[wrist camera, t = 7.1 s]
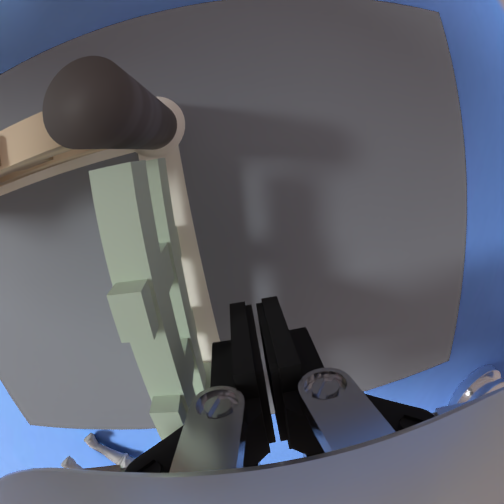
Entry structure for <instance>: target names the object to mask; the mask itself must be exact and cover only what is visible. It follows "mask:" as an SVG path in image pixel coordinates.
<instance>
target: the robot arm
mask: <svg viewBox="0 0 504 504" xmlns="http://www.w3.org/2000/svg"><path fill="white" fill-rule="evenodd" d="M261 301H262V303H256V308H257V314H258V320H259V326H260V333H261V339H262V345H263V351H264V358H265V364H266V370H267V375H268V380H269V385H270V390H271V395H272V400H273V405H274V410H275V415H276V420H277V425H278V430H279V435H280V440H281V441H284V440H288V445H289V449H294V450H297V451H299V452H301V453H303V457H304V458H299V459H294V460H289V461H283V462H278V463H272V464H265V465H260V461H261V460H262V459H263V458H264V457H265V456H266V455H267V454H268V453H270V447H269V443H273V442H276V441H275V435H274V429H273V423H272V417H271V412H270V406H269V400H268V394H267V388H266V382H265V376H264V371H263V365H262V359H261V354H260V349H259V343H258V338H257V332H256V326H255V321H254V315H253V310H252V304H251V305H245V301H244V302H238V303H231V304H229V306H230V331H231V340H227V341H220V342H213V343H212V359H211V383H210V388H208V389H205V390H203V391H201V392H200V393H198V394H197V395H196V396H195V397H194V398H193V400H192V402H191V404H190V407H189V410H188V413H187V416H186V419H185V423H184V425H183V426H181V427H180V428H179V429H177V430H176V431H175V432H173V433H172V434H170V435H169V436H168V437H166V438H165V439H163V440H162V441H161V442H159V443H158V444H156V445H155V446H153V447H152V448H151V449H149V450H148V451H146V452H145V453H143V454H142V455H140V456H139V457H137V458H136V459H134V460H133V461H132V462H131V463H130V464H129V465H128V467H125V468H123V467H122V466H121V465H112V466H105V467H96V468H86V469H69V468H33V469H27V470H21V471H16V472H13V473H10V474H7V475H5V476H3V477H2V478H0V504H504V387H502V388H500V389H497V390H495V391H492V392H490V393H487V394H485V395H483V396H481V397H479V398H477V399H474V400H470V401H466V402H462V403H458V404H454V405H450V406H445V407H441V408H436V410H435V413H430V412H429V411H427V410H424V409H421V408H417V407H413V406H409V405H405V404H401V403H397V402H393V401H389V400H385V399H381V398H378V397H374V396H371V395H367V394H364V392H363V391H362V390H361V389H360V388H359V386H358V385H357V384H356V383H355V381H354V380H353V379H352V378H351V377H350V376H349V375H348V374H347V373H346V372H344V371H342V370H340V369H336V368H324V366H323V363H322V361H321V359H320V357H319V355H318V352H317V350H316V348H315V346H314V343H313V341H312V339H311V337H310V335H309V332H308V330H307V328H306V327H302V328H297V329H292V330H289V329H288V326H287V323H286V320H285V318H284V315H283V312H282V309H281V306H280V304H279V301H278V298H277V296H273V297H267V298H262V299H261Z"/></svg>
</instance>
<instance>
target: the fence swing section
mask: <svg viewBox="0 0 504 504" xmlns="http://www.w3.org/2000/svg"><path fill="white" fill-rule="evenodd" d="M89 178H90V184H91V190H92V196H93V202H94V207H95V212H96V217H97V222H98V227H99V232H100V237H101V241H102V246H103V250H104V254H105V258H106V263H107V267H108V271H109V274H110V278H111V282H112V286H113V287H112V288H111V290H110V291H109V293H108V294H107V295H106V296H107V299H108V302H109V306H110V309H111V312H112V316H113V319H114V322H115V325H116V328H117V331H118V334H119V337H120V340H121V343H130V345H131V348H132V351H133V353H134V356H135V359H136V362H137V365H138V367H139V370H140V373H141V375H142V378H143V381H144V383H145V386H146V388H147V391H148V393H149V396H150V398H151V401H152V403H151V407H150V412H149V414H150V416H151V418H152V420H153V422H154V425H155V427H156V429H157V431H158V433H159V435H160V437H161V439H162V440H163V439H165V438H166V437H168V436H169V435H170V434H172V433H173V432H175V431H176V430H177V429H179V428H180V427H181V426H183V425H184V423H185V419H186V416H187V413H188V410H189V407H190V404H191V402H192V400H193V398H194V397H195V396H196V395H197V394H198V393H200V392H201V391H203V390H205V389H208V388H210V383H211V362H206V363H203V360H202V356H201V351H200V347H199V343H198V338H197V328H196V324H195V319H194V314H193V310H192V308H191V306H190V302H189V297H188V292H187V287H186V282H185V277H184V271H183V266H182V261H181V257H182V253H181V248H180V242H179V236H178V230H177V226H175V221H174V214H173V208H172V202H171V195H170V188H169V182H168V174H167V167H166V160H165V158H159V159H153V160H147V161H146V160H141V161H133V162H127V163H122V164H118V165H113V166H108V167H104V168H99V169H95V170H91V171H89Z"/></svg>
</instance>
